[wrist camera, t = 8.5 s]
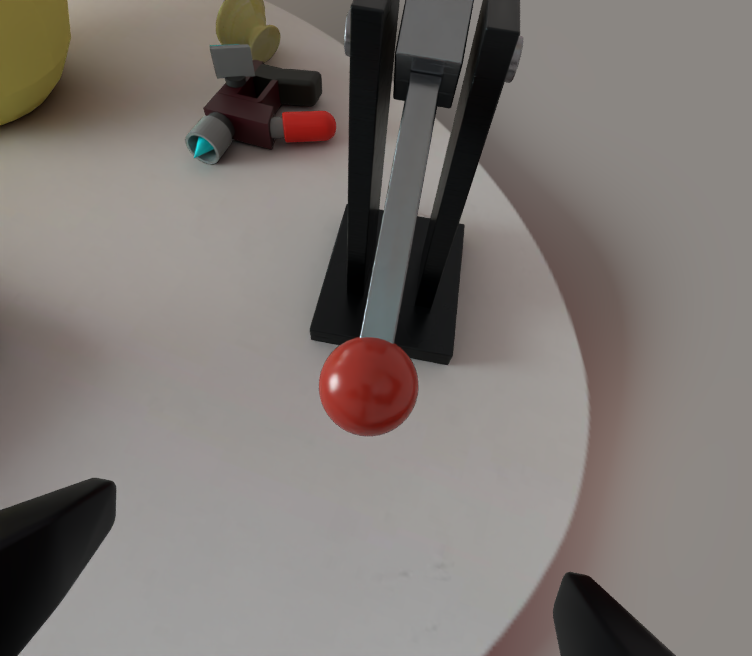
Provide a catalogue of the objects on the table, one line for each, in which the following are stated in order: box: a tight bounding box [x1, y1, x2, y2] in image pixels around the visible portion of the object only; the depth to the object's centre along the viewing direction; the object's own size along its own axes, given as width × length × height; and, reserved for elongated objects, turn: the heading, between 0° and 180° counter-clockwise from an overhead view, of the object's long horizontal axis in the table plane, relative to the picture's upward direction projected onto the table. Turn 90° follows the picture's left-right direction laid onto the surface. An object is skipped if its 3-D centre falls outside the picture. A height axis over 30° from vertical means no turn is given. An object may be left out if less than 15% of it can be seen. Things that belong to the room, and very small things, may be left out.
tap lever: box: [319, 0, 474, 436], centre depth 15 cm, size 15×3×3 cm, turn 170°
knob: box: [216, 0, 280, 62], centre depth 37 cm, size 5×5×5 cm
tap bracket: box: [310, 0, 523, 365], centre depth 20 cm, size 10×8×16 cm
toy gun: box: [185, 44, 336, 164], centre depth 32 cm, size 10×12×5 cm
